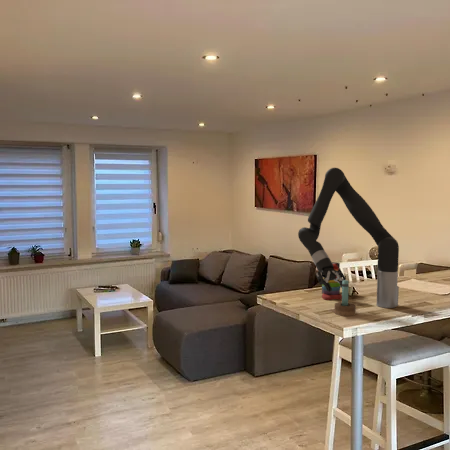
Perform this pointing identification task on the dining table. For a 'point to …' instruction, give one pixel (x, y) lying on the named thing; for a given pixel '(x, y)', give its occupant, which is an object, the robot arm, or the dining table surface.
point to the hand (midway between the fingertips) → (337, 290)
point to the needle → (345, 292)
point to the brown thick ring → (345, 309)
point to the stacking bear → (335, 288)
